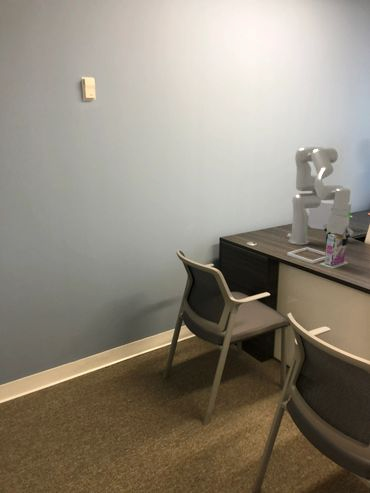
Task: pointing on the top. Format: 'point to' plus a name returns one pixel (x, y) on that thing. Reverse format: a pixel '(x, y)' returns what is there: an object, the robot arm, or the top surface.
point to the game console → (321, 215)
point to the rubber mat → (334, 265)
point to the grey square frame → (306, 258)
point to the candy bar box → (334, 250)
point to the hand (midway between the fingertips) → (336, 243)
